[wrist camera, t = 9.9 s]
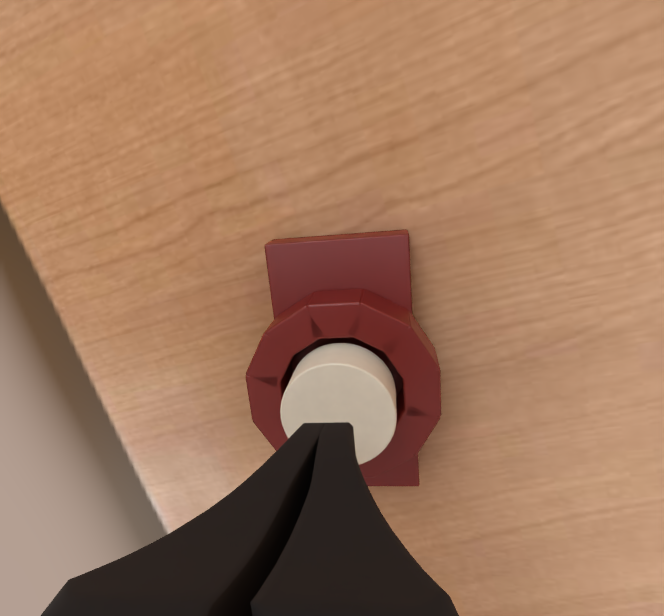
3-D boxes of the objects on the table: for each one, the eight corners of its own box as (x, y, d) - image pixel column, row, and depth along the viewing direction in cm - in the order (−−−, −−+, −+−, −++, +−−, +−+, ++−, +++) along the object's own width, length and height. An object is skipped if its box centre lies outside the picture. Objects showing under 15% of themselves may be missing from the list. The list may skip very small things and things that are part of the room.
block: (435, 467, 19) (443, 520, 16) (284, 468, 20) (267, 518, 17) (428, 227, 16) (437, 240, 13) (253, 241, 17) (225, 255, 14)
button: (398, 436, 16) (399, 467, 14) (297, 437, 16) (287, 468, 15) (393, 339, 15) (393, 361, 13) (285, 344, 15) (273, 365, 14)
